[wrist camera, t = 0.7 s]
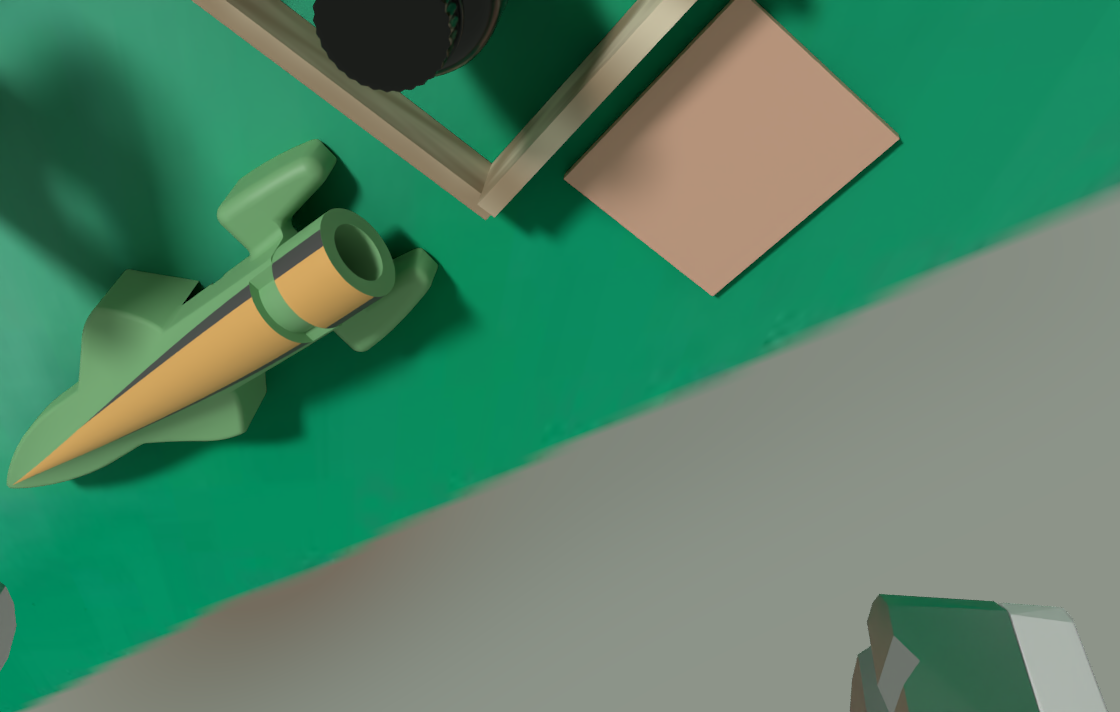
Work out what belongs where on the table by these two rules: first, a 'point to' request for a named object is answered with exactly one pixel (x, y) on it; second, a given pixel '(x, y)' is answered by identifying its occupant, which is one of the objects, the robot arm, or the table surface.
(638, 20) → the beige square open box
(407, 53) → the supplement bottle
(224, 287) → the toy crocodile
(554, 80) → the table surface
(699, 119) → the terracotta tile
